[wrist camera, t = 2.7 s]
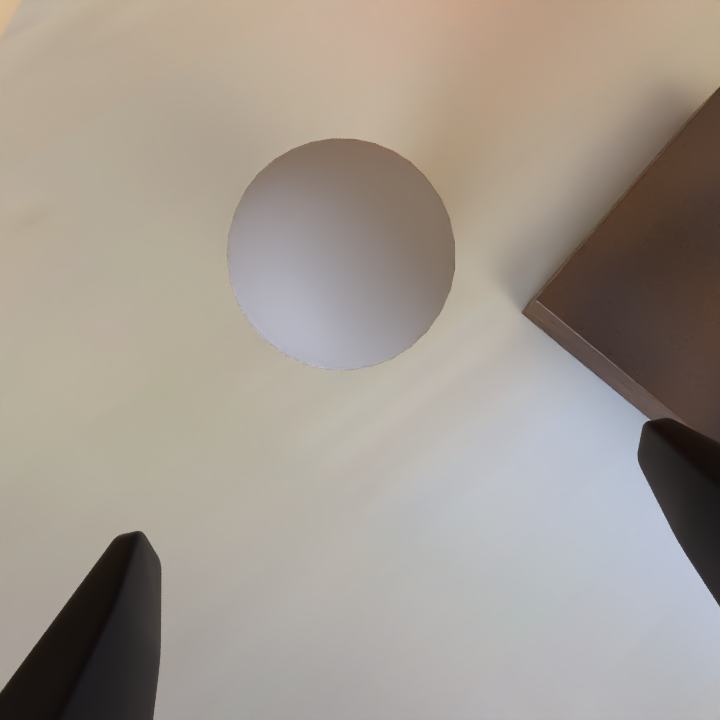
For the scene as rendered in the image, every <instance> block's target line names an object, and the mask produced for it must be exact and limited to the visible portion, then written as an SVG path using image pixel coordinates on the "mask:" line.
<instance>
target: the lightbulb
mask: <svg viewBox="0 0 720 720" xmlns="http://www.w3.org/2000/svg"><path fill="white" fill-rule="evenodd" d="M227 258H228V266H229V273H230V280H231V285H232V288H233V291H234V294H235V296H236V299H237V302H238V305H239V306H240V308H241V310H242V311H243V313H244V314H245V316H246V318H247V319H248V321H249V322H250V324H251V325H252V326H253V327H254V328H255V329H256V330H257V332H258V333H259V334H260V335H261V336H262V337H263V338H264V339H265V340H266V341H267V342H268V343H269V344H270V345H272V346H273V347H275V348H276V349H277V350H279V351H280V352H282V353H283V354H285V355H286V356H288V357H290V358H293V359H295V360H297V361H299V362H302V363H304V364H306V365H310V366H315V367H319V368H324V369H331V370H353V369H359V368H364V367H370V366H374V365H376V364H379V363H382V362H384V361H387V360H389V359H392V358H394V357H396V356H397V355H399V354H400V353H402V352H403V351H405V350H407V349H408V348H410V347H411V346H412V345H413V344H415V343H416V342H417V341H418V340H419V339H420V338H421V337H422V336H423V335H424V334H425V333H426V332H427V331H428V330H429V328H430V327H431V325H432V324H433V322H434V321H435V319H436V318H437V317H438V315H439V314H440V312H441V310H442V308H443V306H444V303H445V301H446V299H447V296H448V294H449V292H450V290H451V285H452V280H453V275H454V270H455V242H454V236H453V231H452V226H451V222H450V218H449V215H448V213H447V211H446V209H445V206H444V204H443V202H442V199H441V198H440V196H439V195H438V193H437V192H436V190H435V189H434V188H433V186H432V185H431V183H430V182H429V180H428V179H427V178H426V176H425V175H424V174H423V173H422V172H421V171H420V170H419V169H417V168H416V167H415V166H414V165H413V164H412V163H411V162H410V161H408V160H407V159H405V158H404V157H402V156H401V155H399V154H397V153H396V152H394V151H392V150H390V149H387V148H385V147H383V146H380V145H378V144H375V143H371V142H366V141H361V140H356V139H327V140H321V141H315V142H310V143H308V144H305V145H302V146H299V147H297V148H294V149H292V150H290V151H288V152H286V153H285V154H283V155H281V156H280V157H278V158H276V159H274V160H273V161H272V162H271V163H270V164H269V165H268V166H266V167H265V168H264V169H263V170H262V171H261V172H259V173H258V175H257V176H256V177H255V179H254V180H253V181H252V182H251V184H250V185H249V186H248V188H247V189H246V190H245V192H244V194H243V196H242V198H241V200H240V202H239V204H238V206H237V208H236V211H235V214H234V217H233V221H232V224H231V228H230V232H229V237H228V253H227Z"/></svg>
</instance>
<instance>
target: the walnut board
mask: <svg viewBox="0 0 720 720" xmlns="http://www.w3.org/2000/svg"><path fill="white" fill-rule="evenodd" d="M522 314H524V315H525V316H526V317H527V318H528V319H530V320H531V321H532V322H533V323H534V324H536V325H537V326H538V327H539V328H540V329H542V330H543V331H544V332H545V333H547V334H548V335H549V336H550V337H551V338H553V339H554V340H555V341H556V342H557V343H559V344H560V345H561V346H562V347H563V348H565V349H566V350H567V351H568V352H569V353H571V354H572V355H573V356H574V357H576V358H577V359H578V360H579V361H580V362H582V363H583V364H584V365H585V366H586V367H588V368H589V369H590V370H591V371H592V372H594V373H595V374H596V375H597V376H598V377H600V378H601V379H602V380H603V381H605V382H606V383H607V384H608V385H609V386H611V387H612V388H613V389H614V390H615V391H617V392H618V393H619V394H620V395H621V396H623V397H624V398H625V399H626V400H627V401H629V402H630V403H631V404H632V405H634V406H635V407H636V408H637V409H638V410H640V411H641V412H642V413H643V414H644V415H646V416H647V417H648V418H649V419H650V420H656V419H660V418H671V419H674V420H676V421H678V422H680V423H682V424H684V425H686V426H688V427H689V428H691V429H693V430H695V431H697V432H699V433H701V434H703V435H705V436H707V437H709V438H711V439H713V440H715V441H717V442H719V443H720V87H719V88H718V89H717V90H716V91H715V92H714V93H713V94H712V95H711V96H710V97H709V98H708V99H707V100H706V101H705V102H704V103H703V104H702V105H701V106H700V107H699V108H698V109H697V110H696V111H695V112H694V114H693V115H692V116H691V117H690V118H689V119H688V120H687V122H686V123H685V124H684V125H683V126H682V127H681V129H680V130H679V131H678V132H677V133H676V134H675V136H674V137H673V138H672V139H671V140H670V141H669V142H668V144H667V145H666V146H665V147H664V148H663V149H662V151H661V152H660V153H659V154H658V155H657V156H656V157H655V159H654V160H653V161H652V162H651V163H650V164H649V166H648V167H647V168H646V169H645V170H644V171H643V173H642V174H641V175H640V176H639V177H638V178H637V179H636V181H635V182H634V183H633V184H632V185H631V186H630V188H629V189H628V190H627V191H626V192H625V193H624V194H623V196H622V197H621V198H620V199H619V200H618V201H617V203H616V204H615V205H614V206H613V207H612V208H611V210H610V211H609V212H608V213H607V214H606V215H605V216H604V218H603V219H602V220H601V221H600V222H599V223H598V225H597V226H596V227H595V228H594V229H593V230H592V231H591V233H590V234H589V235H588V236H587V237H586V238H585V240H584V241H583V242H582V243H581V244H580V245H579V247H578V248H577V249H576V250H575V251H574V252H573V253H572V255H571V256H570V257H569V258H568V259H567V260H566V262H565V263H564V264H563V265H562V266H561V267H560V268H559V270H558V271H557V272H556V273H555V274H554V275H553V277H552V278H551V279H550V280H549V281H548V282H547V284H546V285H545V286H544V287H543V288H542V289H541V290H540V292H539V293H538V294H537V295H536V296H535V297H534V299H533V300H532V301H531V302H530V303H529V304H528V305H527V307H526V308H525V309H524V310H523V311H522Z"/></svg>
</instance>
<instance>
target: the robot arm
mask: <svg viewBox="0 0 720 720" xmlns="http://www.w3.org/2000/svg"><path fill="white" fill-rule="evenodd" d="M638 462H639V465H640V467H641V469H642V471H643V473H644V475H645V477H646V479H647V481H648V483H649V485H650V487H651V489H652V491H653V493H654V495H655V497H656V499H657V501H658V503H659V505H660V507H661V509H662V511H663V513H664V515H665V517H666V519H667V521H668V523H669V525H670V527H671V529H672V531H673V533H674V535H675V537H676V538H677V540H678V542H679V544H680V545H681V547H682V549H683V550H684V552H685V553H686V555H687V557H688V558H689V560H690V561H691V563H692V564H693V566H694V567H695V569H696V571H697V572H698V574H699V575H700V577H701V578H702V580H703V581H704V583H705V584H706V586H707V588H708V589H709V591H710V592H711V594H712V595H713V597H714V598H715V600H716V602H717V603H718V605H719V606H720V443H719V442H717V441H715V440H713V439H711V438H709V437H707V436H705V435H703V434H701V433H699V432H697V431H695V430H693V429H691V428H689V427H688V426H686V425H684V424H682V423H680V422H678V421H676V420H674V419H671V418H660V419H656V420H651V421H647V422H646V423H645V424H644V425H643V428H642V433H641V438H640V443H639V448H638ZM160 649H161V564H160V560H159V558H158V556H157V554H156V552H155V551H154V549H153V547H152V546H151V544H150V542H149V541H148V539H147V537H146V536H145V534H144V533H143V532H141V531H135V532H130V533H126V534H121V535H119V536H117V537H116V538H115V539H114V540H113V541H112V542H111V544H110V545H109V547H108V548H107V549H106V551H105V552H104V553H103V555H102V556H101V557H100V559H99V560H98V561H97V563H96V564H95V565H94V567H93V568H92V570H91V571H90V572H89V574H88V575H87V576H86V578H85V579H84V580H83V582H82V583H81V584H80V586H79V587H78V588H77V590H76V591H75V592H74V594H73V595H72V597H71V598H70V599H69V601H68V602H67V603H66V605H65V606H64V607H63V609H62V610H61V611H60V613H59V614H58V615H57V617H56V618H55V620H54V621H53V622H52V624H51V625H50V626H49V628H48V629H47V630H46V632H45V633H44V634H43V636H42V637H41V638H40V640H39V641H38V643H37V644H36V645H35V647H34V648H33V649H32V651H31V652H30V653H29V655H28V656H27V657H26V659H25V660H24V661H23V663H22V664H21V666H20V667H19V668H18V670H17V671H16V672H15V674H14V675H13V676H12V678H11V679H10V680H9V682H8V683H7V684H6V686H5V687H4V688H3V690H2V691H1V693H0V720H153V715H154V707H155V699H156V691H157V682H158V674H159V664H160Z"/></svg>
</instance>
